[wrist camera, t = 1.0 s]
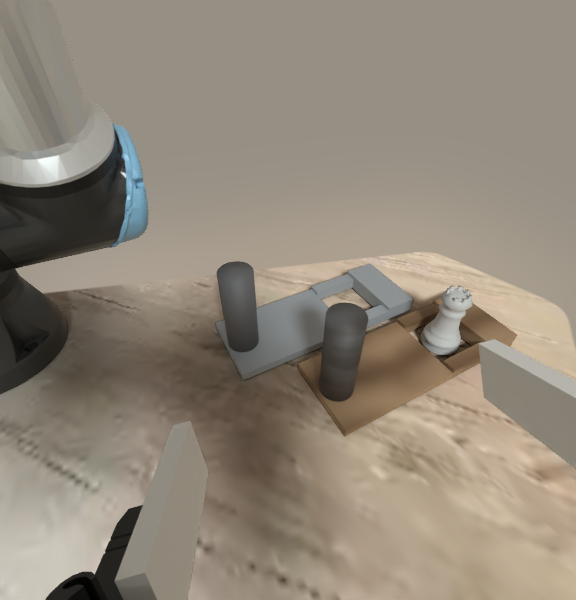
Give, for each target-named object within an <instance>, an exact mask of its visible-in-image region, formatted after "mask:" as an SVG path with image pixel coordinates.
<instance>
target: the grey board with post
mask: <svg viewBox="0 0 576 600" xmlns="http://www.w3.org/2000/svg"><path fill="white" fill-rule="evenodd" d="M217 279H218V285H219V291H220V297H221V303H222V309H223V315H224V320H221V321H218V322H215V327H216V330H217V332H218V333H219V335H220V337H221V339H222V341H223V343H224V345H225V347H226V349H227V350H228V352H229V354H230V356H231V358H232V360H233V362H234V364H235V366H236V367H237V369H238V371H239V373H240V375H241V377H242V379H243V380H245V379H248V378H250V377H252V376H255V375H257V374H260V373H262V372H264V371H267V370H269V369H271V368H274V367H276V366H279V365H281V364H283V363H286V362H288V361H290V360H293V359H295V358H298V357H300V356H302V355H305V354H307V353H309V352H312V351H314V350H317V349H319V348H321V347H323V337H324V327H325V316H326V312H327V310H328V309H329V308H328V306H327V305H326V304H325V303H324V302H323V301H322V300H321V299H323V298H326V297H328V296H331V295H334V294H337V293H339V292H342V291H345V290H348V289H350V288H353V289H354V290H355V291H356V292H357V293H358V294H359V295H361V296H362V297H363V298H364V299H365V300H366V301H367V302H368V303H369V304H370V305H371V306H372V307H373V308H371V309H369V310H366V311H365V312H366V313H367V315H368V324H367V328H369V327H371V326H373V325H376V324H378V323H381V322H383V321H385V320H388V319H390V318H392V317H395V316H397V315H400V314H402V313H404V312H407V311H409V310H410V309H411V306H412V303H413V298H412V297H411V296H410V295H409V294H407V293H406V292H405V291H404V290H402V289H401V288H400V287H399V286H397V285H396V284H395V283H394V282H392V281H391V280H390V279H389V278H387V277H386V276H385V275H384V274H382V273H381V272H380V271H379V270H378V269H376V268H375V267H374V266H373V265H371V264H367V265H364V266H361V267H358V268H355V269H352V270H349V271H348V273H347V274H346V275H343V276H340V277H337V278H334V279H331V280H328V281H325V282H322V283H319V284H317V285H314V286H311V289H310V290H307V291H304V292H301V293H299V294H296V295H293V296H290V297H287V298H284V299H281V300H278V301H275V302H273V303H270V304H267V305H264V306H261V307H258V308H256V298H255V285H254V273H253V268H252V267H251V266H250V265H249V264H247V263H244V262H230V263H226V264H224V265H222V266H221V267H220V268H219V269H218V271H217Z"/></svg>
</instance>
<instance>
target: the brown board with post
mask: <svg viewBox="0 0 576 600" xmlns="http://www.w3.org/2000/svg"><path fill="white" fill-rule="evenodd" d="M441 303H443V302H442V300H441V298H439V299H436V300H434V301H433V304H430V305H428V306H426V307H423V308H421V309H419V310H416V311H414V312H411V313H409V314H407V315H404V316H402V317H400V318H397V320H396V322H394V323H392V324H389V325H387V326H385V327H382V328H380V329H378V330H375V331H373V332H371V333H368V334H366V329H367V324H368V315H367V313H366V312H365V311H364V310H363V309H362V308H361V307H359V306H357V305H355V304H351V303H338V304H335V305H332V306H331V307H330V308H329V309H328V310H327V312H326V316H325V327H324V337H323V348H322V354H319V355H317V356H315V357H312V358H310V359H308V360H305V361H303V362H301V363H298V370H299V371H300V373H301V374H302V376H303V377H304V379H305V380H306V381H307V383H308V384H309V386H310V387H311V389H312V390H313V392H314V393H315V394H316V396H317V397H318V399H319V400H320V402H321V403H322V405H323V406H324V407H325V409H326V410H327V412H328V413H329V415H330V416H331V418H332V419H333V420H334V422H335V423H336V425H337V426H338V428H339V429H340V431H341V432H342V433H343V435H344V436H346V435H348V434H350V433H352V432H353V431H355V430H357V429H359V428H361V427H363V426H364V425H366V424H368V423H370V422H372V421H374V420H376V419H377V418H379V417H381V416H383V415H385V414H387V413H388V412H390V411H392V410H394V409H396V408H398V407H399V406H401V405H403V404H405V403H407V402H409V401H411V400H412V399H414V398H416V397H418V396H420V395H422V394H423V393H425V392H427V391H429V390H431V389H433V388H434V387H436V386H438V385H440V384H442V383H444V382H446V381H447V380H449V379H451V378H453V377H455V376H457V375H458V374H460V373H462V372H464V371H466V370H468V369H469V368H471V367H473V366H475V365H477V364H479V363H480V354H479V344H478V343H482V342H486V341H490V340H493V339H495V340H497V341H499V342H501V343H503V344H505V345H507V346H509V347H510V346H511V344H512V343H513V341H514V339H515V338H516V336H517V334H515V333H514V332H513V331H511V330H510V329H508V328H507V327H506V326H504V325H503V324H501V323H500V322H498V321H497V320H496V319H494V318H493V317H491V316H490V315H489V314H487V313H486V312H484V311H483V310H482V309H480V308H479V307H477V306H476V305H474V304H472V307H470V308H469V309H467V310H465V312H466V314H465V316H464V317H463V318H462V319H461V321H460V325H459V331H460V336H461V338H462V339H464V340H465V341H466V342H467V343H469V344H470V345H471V347H469V348H467V349H465V350H463V351H461V352H459V353H458V354H456V355H454V356H452V357H450V358H448V359H446V360H444V361H443V363H441V362H440V361H439V360H438V359H437V358H436V357H435V356H433V355H432V354H431V353H430V352H429V351H428V350H427V349H426V348H425V347H424V346H422V345H421V344H420V343H419V342H418V341H417V340H416V339H415V338H414V337H413V336H411V335H410V334H409V333H408V332H410V331H412V330H415V329H417V328H419V327H421V326H424V325H426V324H428V323H430V322H431V321H433V320H434V319H435V318H436V316H437V314H438V313H439V311H440V309H439V305H440V304H441ZM365 334H366V335H365Z"/></svg>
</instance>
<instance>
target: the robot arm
mask: <svg viewBox="0 0 576 600" xmlns="http://www.w3.org/2000/svg"><path fill="white" fill-rule="evenodd" d="M147 225H148V203H147V195H146V189H145V186H144V184H143V175H142V169H141V165H140V161H139V158H138V155H137V152H136V148H135V146H134V143H133V141H132V139H131V136H130V134H129V132H128V131H127V130H126V129H125V128H124V127H123V126H120V125H115V124H112V122H111V120H110V118H109V117H108V115H107V114H106V112H105V111H104V110H103V109H102V108H101V107H100V106H99V105H97V104H96V103H95V102H93V101H92V100H90V99H89V98H87V97H85V96H84V94H83V91H82V88H81V85H80V82H79V79H78V76H77V73H76V70H75V67H74V63H73V60H72V57H71V54H70V51H69V48H68V45H67V42H66V39H65V36H64V33H63V30H62V27H61V24H60V20H59V17H58V14H57V11H56V8H55V5H54V2H53V0H0V394H1V393H3V392H6V391H8V390H10V389H12V388H14V387H16V386H18V385H20V384H21V383H23V382H25V381H26V380H28V379H29V378H31V377H32V376H34V375H35V374H37V373H38V372H39V371H40V370H42V369H43V368H44V367H45V366H46V365H47V364H48V363H50V362H51V361H52V359H53V358H54V357H55V356H56V355H57V354H58V352H59V351H60V350H61V348H62V346H63V345H64V343H65V340H66V337H67V334H68V325H67V322H66V319H65V318H64V316H63V314H62V313H61V311H60V309H59V308H58V306H57V305H56V304H55V303H54V302H53V301H51V300H50V299H49V298H48V297H46V296H45V295H44V294H42V293H41V292H40V291H38V290H37V289H36V288H35V287H33V286H32V285H31V284H29V283H28V282H27V281H25V280H24V279H23V278H22V277H20V276H19V274H18V273H17V271H16V270H15V268H19V267H23V266H27V265H32V264H36V263H40V262H45V261H49V260H53V259H58V258H63V257H67V256H72V255H76V254H81V253H84V252H89V251H94V250H98V249H103V248H107V247H115V246H117V245H118V244H120V243H122V242H126V241H129V240H132V239H135V238H138V237H140V236H141V235H142V234H143V233H144V232H145V230H146V228H147ZM478 344H479V354H480V363H481V373H482V383H483V393H484V398H486V399H487V400H488V401H489V402H491V403H492V404H493V405H494V406H496V407H497V408H498V409H500V410H501V411H502V412H503V413H505V414H506V415H507V416H509V417H510V418H511V419H512V420H514V421H515V422H516V423H518V424H519V425H520V426H521V427H523V428H524V429H525V430H527V431H528V432H529V433H530V434H532V435H533V436H534V437H536V438H537V439H538V440H539V441H541V442H542V443H543V444H545V445H546V446H547V447H548V448H550V449H551V450H552V451H553V452H555V453H556V454H557V455H559V456H560V457H561V458H562V459H564V460H565V461H566V462H568V463H569V464H570V465H571V466H573V467H574V468H575V469H576V380H574V379H572V378H570V377H568V376H566V375H564V374H562V373H560V372H558V371H556V370H555V369H553V368H551V367H549V366H547V365H545V364H543V363H541V362H539V361H537V360H535V359H533V358H531V357H529V356H527V355H525V354H523V353H521V352H519V351H517V350H515V349H513V348H511V347H509V346H507V345H505V344H503V343H501V342H499V341H497V340H495V339H493V340H490V341H486V342H482V343H478ZM208 474H209V472H208V469H207V466H206V463H205V461H204V458H203V455H202V452H201V449H200V446H199V443H198V441H197V438H196V435H195V432H194V429H193V426H192V423H191V421H187V422H183V423H179V424H175V425H173V426H172V429H171V432H170V434H169V437H168V440H167V442H166V445H165V448H164V450H163V453H162V456H161V458H160V461H159V464H158V466H157V469H156V472H155V474H154V477H153V480H152V482H151V485H150V488H149V490H148V493H147V496H146V498H145V501H144V504H143V505H141V506H137V507H134V508H130V509H128V511H127V512H126V513H125V514H124V516H123V517H122V518H121V519H120V521H119V522H118V523H117V525H116V527H115V530H114V532H113V534H112V536H111V541H109V543H108V546H107V548H106V550H105V554H104V555H103V557H102V559H101V562H100V564H99V566H98V569H97V571H96V573H95V575H94V574H93V573H92V572H81V573H78V574H76V575H73V576H71V577H70V578H68V579H67V580H65V581H63V582H62V583H61V584H60V585H58V586H57V587H56V588H55V589H54V590H53V591H52V592H51V593H50V594H49V596H48V597H47V598H46V600H188V595H189V589H190V583H191V577H192V571H193V565H194V559H195V552H196V546H197V540H198V534H199V528H200V522H201V516H202V510H203V504H204V498H205V492H206V486H207V480H208Z"/></svg>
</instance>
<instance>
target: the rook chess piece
mask: <svg viewBox="0 0 576 600" xmlns="http://www.w3.org/2000/svg"><path fill="white" fill-rule="evenodd" d="M462 289H463V287H461V286H458V288H457V289H455V286H450V288H447V290H446V291H444V292H443V293H442V294H441V300H442V302H443V303H441V304H440V305H439V309H440V311H439V313H438V314H437V316H436V318H435V319H434V320H433V321H431V322H430V323H429V324H427V325H426V326H425V327H424V329H423V332H422V333H421V336H420V338H421V342H422V344H423V345H424V346H425V348H426V349H427V350H429V351H430V352H432V353H434V354H437V355H444V356H446V355H450V354H454V353H455V352H456V351H457V350H458V348H459V345H460V342H461V336H460V331H459V325H460V321H461V319H462V318H463V317H464V316H465V314H466V312H465V310H467V309H469V308H470V307H472V304H473V302H472V300H471V298H472V295H470V291H469V290H468V289H467V290H465V292H464V291H462Z"/></svg>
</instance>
